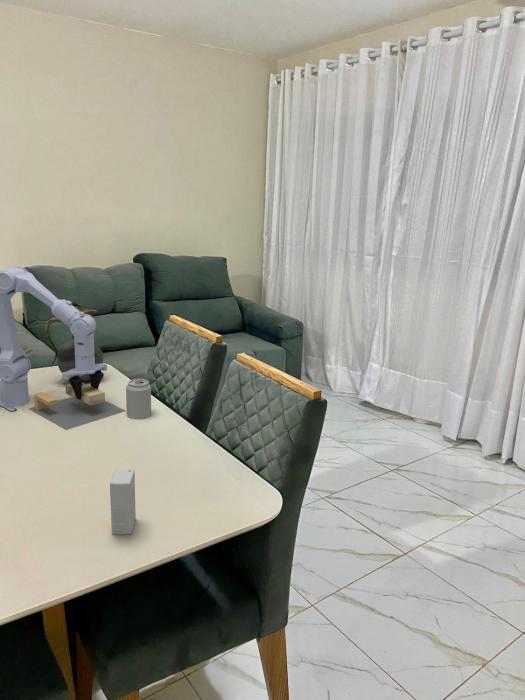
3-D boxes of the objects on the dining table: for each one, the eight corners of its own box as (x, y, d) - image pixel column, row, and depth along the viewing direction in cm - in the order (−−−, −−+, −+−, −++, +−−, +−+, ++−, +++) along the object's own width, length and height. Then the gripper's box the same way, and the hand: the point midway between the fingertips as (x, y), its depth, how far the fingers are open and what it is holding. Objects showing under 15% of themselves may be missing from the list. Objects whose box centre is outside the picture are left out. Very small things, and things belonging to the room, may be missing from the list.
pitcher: (104, 387, 194) (101, 304, 185) (47, 389, 188) (42, 305, 180) (103, 377, 204) (101, 298, 195) (49, 379, 198) (44, 299, 190)
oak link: (65, 393, 173) (65, 384, 172) (79, 389, 177) (79, 381, 176) (90, 405, 165) (90, 396, 164) (105, 401, 168) (104, 392, 168)
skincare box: (115, 518, 117) (114, 468, 114) (136, 518, 117) (135, 468, 114) (110, 535, 111) (109, 483, 108) (131, 535, 112) (130, 483, 108)
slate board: (28, 411, 169) (26, 393, 168) (87, 395, 185) (86, 378, 183) (66, 433, 156) (65, 413, 154) (126, 413, 172) (126, 396, 170)
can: (154, 413, 173) (153, 378, 169) (147, 423, 166) (146, 386, 162) (131, 412, 173) (130, 376, 170) (123, 421, 166) (122, 384, 163)
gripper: (70, 362, 159) (72, 405, 162) (112, 353, 169) (113, 393, 173) (57, 357, 163) (60, 399, 167) (99, 348, 174) (100, 388, 177)
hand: (86, 396), depth 170 cm, fingers closed on oak link, 5 cm apart
